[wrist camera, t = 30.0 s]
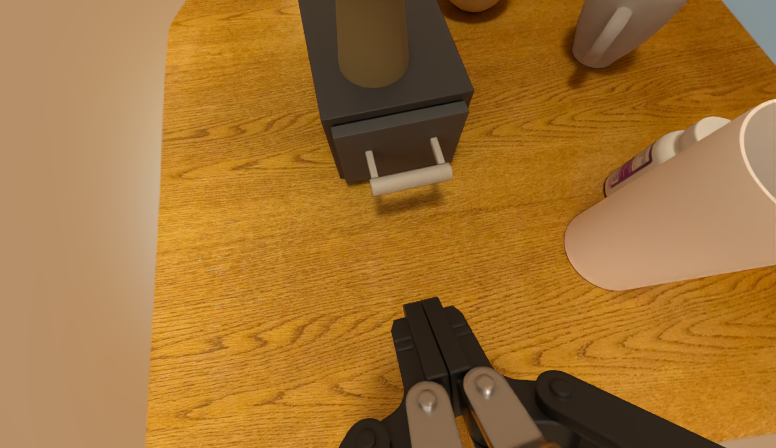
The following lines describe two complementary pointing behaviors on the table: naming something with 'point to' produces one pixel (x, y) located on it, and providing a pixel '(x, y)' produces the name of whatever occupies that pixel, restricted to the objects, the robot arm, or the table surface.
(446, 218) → the table surface
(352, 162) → the drawer
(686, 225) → the cup
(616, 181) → the pill bottle
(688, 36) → the table surface
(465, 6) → the fruit
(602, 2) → the mug
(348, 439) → the robot arm
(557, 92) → the table surface
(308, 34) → the small storage chest
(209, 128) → the table surface
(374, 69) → the pepper shaker
